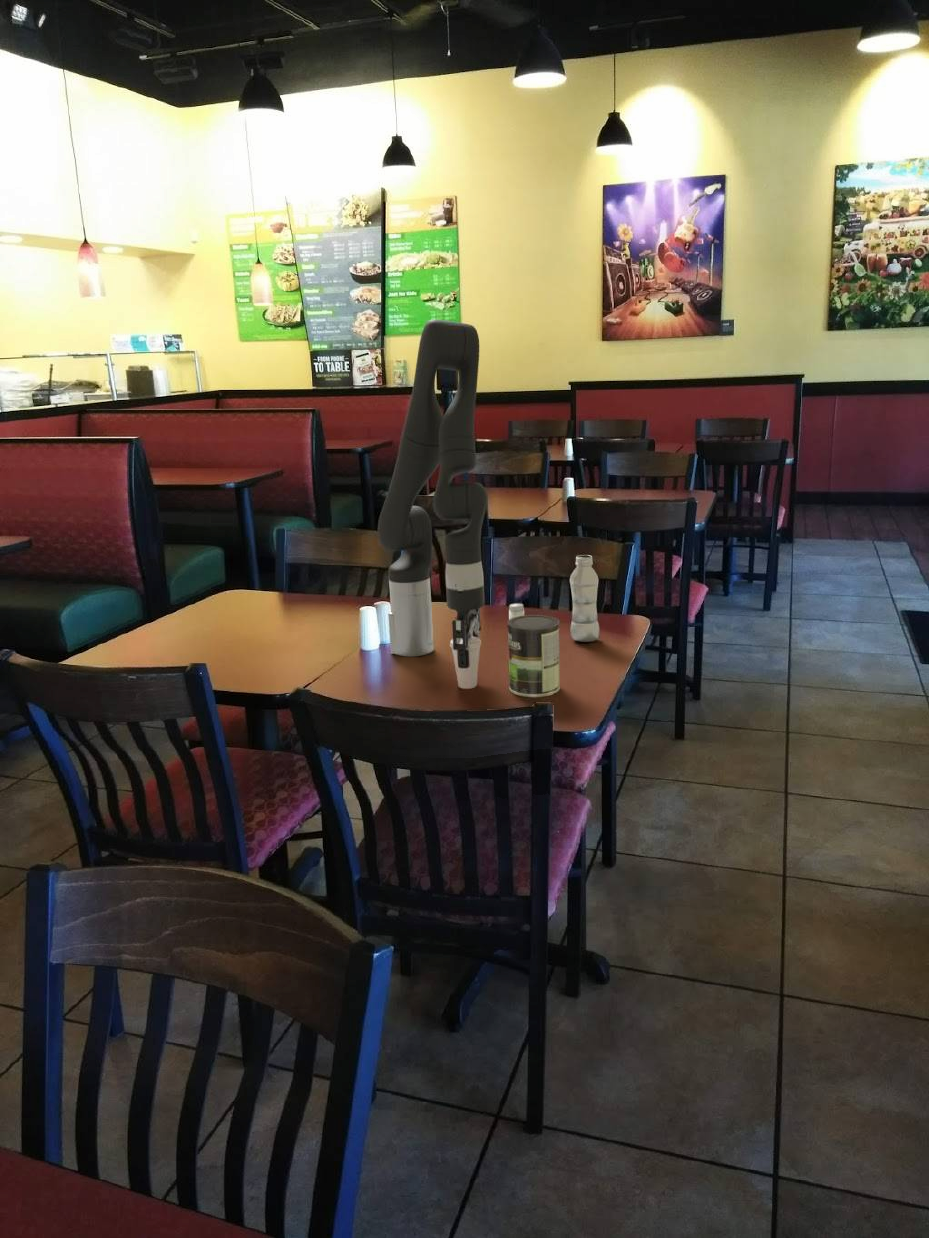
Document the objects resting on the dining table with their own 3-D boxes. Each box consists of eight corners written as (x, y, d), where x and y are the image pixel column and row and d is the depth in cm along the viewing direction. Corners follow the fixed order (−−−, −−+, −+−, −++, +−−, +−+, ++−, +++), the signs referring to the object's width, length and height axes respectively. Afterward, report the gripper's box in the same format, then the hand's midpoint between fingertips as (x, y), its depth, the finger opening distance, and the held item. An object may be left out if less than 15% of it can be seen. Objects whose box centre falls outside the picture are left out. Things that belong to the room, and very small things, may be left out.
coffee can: (517, 700, 182) (515, 631, 178) (503, 683, 192) (500, 617, 188) (567, 694, 184) (566, 625, 180) (550, 677, 194) (549, 612, 190)
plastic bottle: (592, 646, 213) (592, 560, 207) (565, 642, 216) (564, 558, 211) (604, 638, 218) (603, 555, 212) (577, 635, 221) (576, 552, 216)
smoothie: (479, 691, 188) (477, 624, 184) (448, 690, 189) (445, 624, 185) (485, 680, 194) (483, 615, 190) (455, 679, 195) (452, 615, 191)
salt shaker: (508, 640, 220) (507, 607, 218) (511, 636, 223) (510, 603, 221) (523, 641, 219) (522, 607, 217) (526, 636, 222) (525, 603, 220)
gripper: (455, 575, 193) (459, 650, 197) (437, 592, 180) (442, 671, 184) (490, 575, 191) (493, 650, 196) (475, 592, 178) (479, 673, 182)
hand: (468, 661), depth 190 cm, fingers open, 8 cm apart
